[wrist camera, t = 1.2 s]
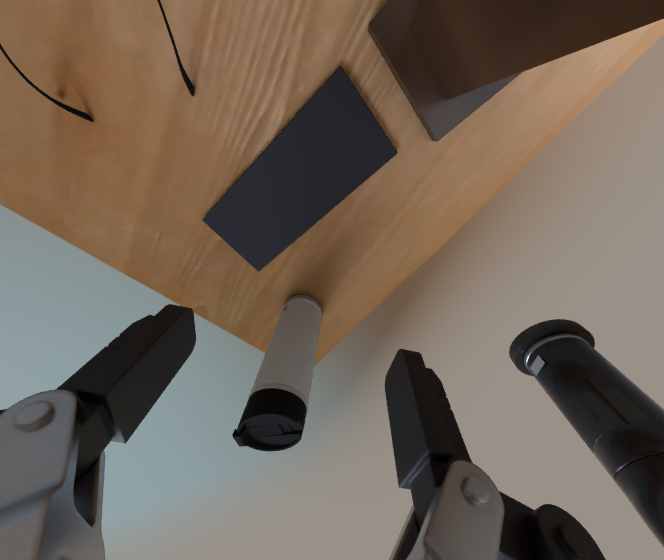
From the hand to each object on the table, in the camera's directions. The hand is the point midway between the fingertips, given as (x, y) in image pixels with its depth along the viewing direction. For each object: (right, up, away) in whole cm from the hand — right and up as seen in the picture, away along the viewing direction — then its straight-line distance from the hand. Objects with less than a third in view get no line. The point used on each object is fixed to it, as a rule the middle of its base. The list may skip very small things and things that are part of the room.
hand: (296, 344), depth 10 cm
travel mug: (-3, -2, +31) cm, 31 cm away
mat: (-4, +14, +21) cm, 26 cm away
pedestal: (+13, +25, +13) cm, 31 cm away
